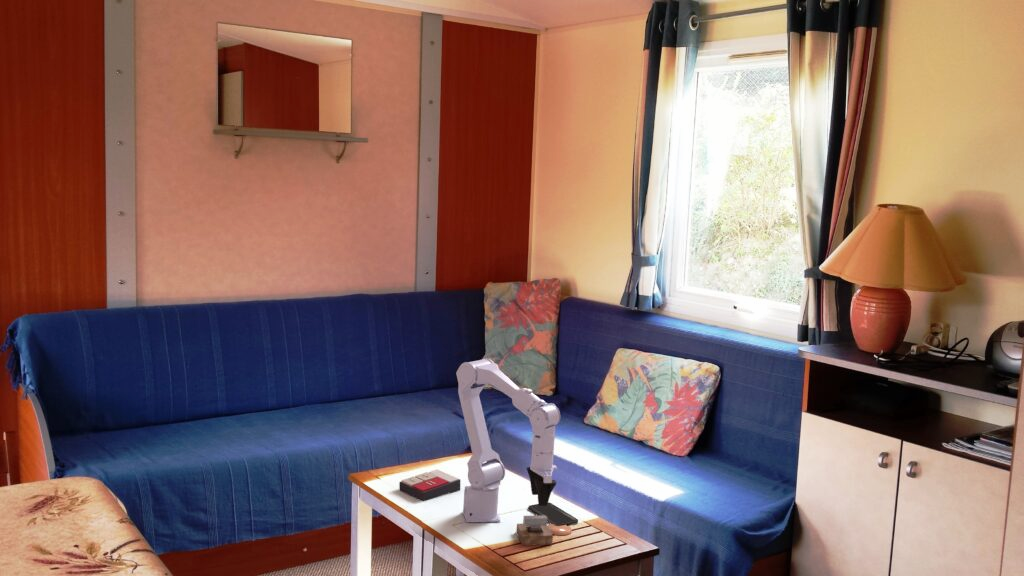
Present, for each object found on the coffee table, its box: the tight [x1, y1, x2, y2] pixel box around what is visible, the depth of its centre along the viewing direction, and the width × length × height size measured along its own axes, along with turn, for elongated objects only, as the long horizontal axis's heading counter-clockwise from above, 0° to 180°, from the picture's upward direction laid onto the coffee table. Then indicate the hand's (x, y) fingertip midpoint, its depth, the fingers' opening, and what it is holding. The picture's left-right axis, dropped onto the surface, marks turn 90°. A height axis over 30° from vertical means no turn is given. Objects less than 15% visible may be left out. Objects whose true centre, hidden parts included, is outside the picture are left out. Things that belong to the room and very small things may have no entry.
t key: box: [522, 514, 548, 533], centre depth 236 cm, size 6×3×6 cm, turn 101°
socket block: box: [516, 523, 554, 546], centre depth 236 cm, size 8×8×2 cm
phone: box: [527, 501, 579, 526], centre depth 253 cm, size 8×1×15 cm
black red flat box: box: [398, 469, 461, 502], centre depth 266 cm, size 11×4×15 cm
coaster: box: [547, 523, 573, 536], centre depth 243 cm, size 7×7×1 cm
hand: (539, 499), depth 236 cm, fingers open, 7 cm apart
